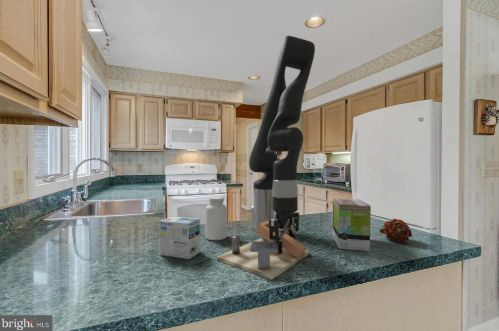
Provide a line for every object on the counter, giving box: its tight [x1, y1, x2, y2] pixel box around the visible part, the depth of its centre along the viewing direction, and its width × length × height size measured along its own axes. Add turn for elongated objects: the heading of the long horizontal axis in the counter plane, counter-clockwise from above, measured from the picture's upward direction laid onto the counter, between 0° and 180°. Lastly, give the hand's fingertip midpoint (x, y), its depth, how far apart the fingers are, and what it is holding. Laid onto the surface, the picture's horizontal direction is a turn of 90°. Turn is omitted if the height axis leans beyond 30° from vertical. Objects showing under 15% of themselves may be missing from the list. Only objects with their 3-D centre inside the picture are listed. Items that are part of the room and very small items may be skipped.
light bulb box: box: [159, 216, 202, 260], centre depth 76 cm, size 11×7×11 cm, turn 71°
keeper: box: [250, 240, 278, 270], centre depth 65 cm, size 5×7×5 cm
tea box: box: [332, 198, 372, 252], centre depth 85 cm, size 15×10×15 cm, turn 168°
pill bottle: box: [205, 196, 228, 241], centre depth 91 cm, size 8×8×15 cm
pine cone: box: [379, 218, 413, 244], centre depth 88 cm, size 8×8×12 cm
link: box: [255, 220, 308, 259], centre depth 74 cm, size 15×6×3 cm, turn 52°
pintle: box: [231, 234, 241, 255], centre depth 73 cm, size 2×2×5 cm
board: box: [216, 238, 311, 281], centre depth 73 cm, size 19×21×1 cm
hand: (285, 249), depth 73 cm, fingers open, 7 cm apart
